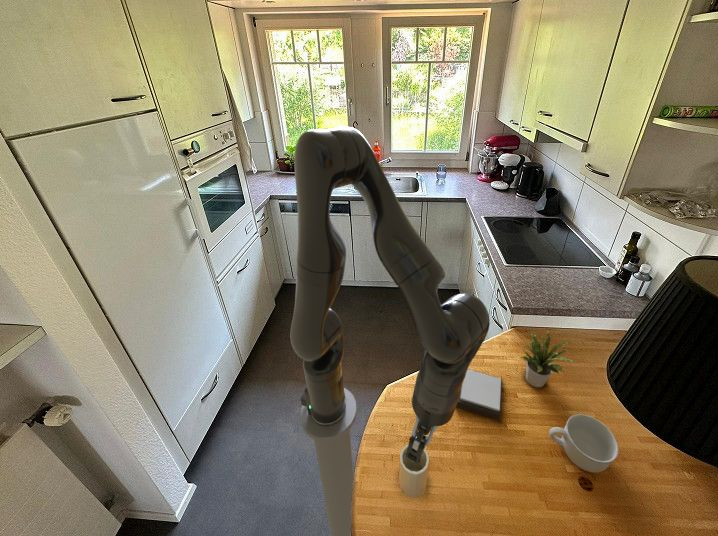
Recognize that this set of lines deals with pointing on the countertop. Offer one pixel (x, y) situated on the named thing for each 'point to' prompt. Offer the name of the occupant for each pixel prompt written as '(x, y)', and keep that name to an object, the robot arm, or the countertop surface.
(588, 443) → the teacup
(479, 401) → the scale
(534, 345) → the house plant
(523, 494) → the countertop surface
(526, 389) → the countertop surface
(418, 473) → the tumbler
